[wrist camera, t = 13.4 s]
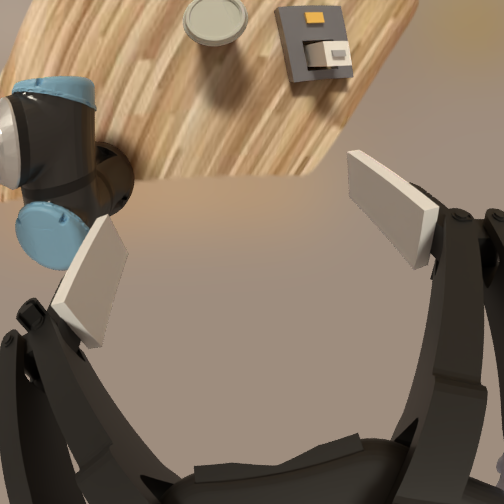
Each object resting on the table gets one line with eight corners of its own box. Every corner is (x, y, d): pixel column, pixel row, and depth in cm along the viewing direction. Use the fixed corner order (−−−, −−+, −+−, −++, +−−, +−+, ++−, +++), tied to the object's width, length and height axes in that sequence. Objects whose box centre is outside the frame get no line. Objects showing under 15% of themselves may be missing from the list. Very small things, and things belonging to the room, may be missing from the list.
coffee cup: (234, 56, 38) (241, 49, 28) (183, 49, 36) (174, 40, 26) (245, 13, 33) (256, -5, 24) (194, 6, 31) (190, -15, 22)
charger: (305, 66, 40) (329, 66, 32) (301, 46, 38) (324, 40, 29) (326, 65, 40) (353, 65, 32) (323, 45, 38) (349, 40, 29)
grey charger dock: (289, 81, 42) (295, 82, 39) (274, 10, 33) (279, 6, 30) (346, 76, 42) (355, 77, 39) (333, 8, 33) (342, 5, 30)
